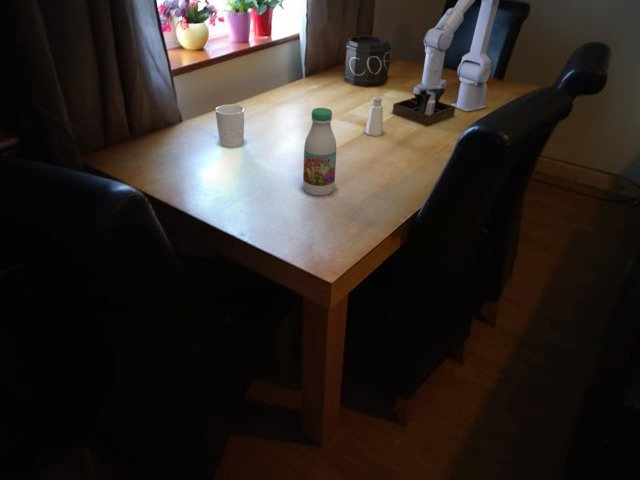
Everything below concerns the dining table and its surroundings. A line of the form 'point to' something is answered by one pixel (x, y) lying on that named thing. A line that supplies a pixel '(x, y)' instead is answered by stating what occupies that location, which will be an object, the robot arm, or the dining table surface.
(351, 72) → the coffee canister
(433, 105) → the pill bottle
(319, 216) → the dining table surface
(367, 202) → the dining table surface
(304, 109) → the dining table surface
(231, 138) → the white cup
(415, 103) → the tray
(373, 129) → the pepper shaker
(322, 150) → the milk bottle
